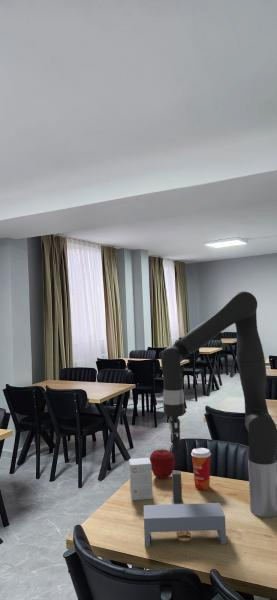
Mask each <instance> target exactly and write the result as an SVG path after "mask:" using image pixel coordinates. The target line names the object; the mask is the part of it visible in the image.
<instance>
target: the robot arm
mask: <svg viewBox="0 0 277 600" xmlns="http://www.w3.org/2000/svg"><path fill="white" fill-rule="evenodd" d="M257 309H258V300H257V298H256V297H255V295H254V294H252V292H248V291H246V290H245V291H238V292H236V293H234V295H233V296H232V297H231V298H230V300H229V301H228V302H227V303H226V304H225V305H224V306H223V307H222V308H220V310H218V311H217V312H216V313H215V314H213V315H211V317H209V318H208V319H206V320H203V322H202V323H200V324H198V325H197V326H195V327H194V328H192V329H191V330H190V331H188V332H187V333H185V334H184V336H182V337H181V338H180V339H179V340H178V341H176V342H175V343H173V344H172V345H170V346H168V347H166V348H165V349H164V350H163V351H162V352H161V357H160V359H161V360H160V361H161V370H162V375H163V396H162V398H163V399H162V401H163V415H164V416H165V417H169V419H168V426H169V427H168V428H169V432H170V443H171V444H172V451H174V452H179V451H180V441H181V420H180V418H179V417H183V416H184V415H185V394H184V380H183V378H184V377H183V375H182V372H181V369H182V368H181V362H183V361H184V360H186V358H188V357H189V356H190V355H191V354H192V353H195V352H196V351H198V350H200V349H201V348H202V347H204V346H205V345H206V344H208V343H209V342H211V341H212V340H213V339H214V338H216V337H217V336H218V335H219V334H221V332H223V331H224V330H226V329H228V328H229V327H230V326H232V325H234V324H235V330H236V359H237V366H238V368H237V369H238V374H239V380H240V384H241V389H242V393H243V399H244V425H245V428H246V430H247V432H248V435H247V436H248V450H247V463H248V483H249V506H250V507H249V508H250V509H249V510H250V512H251V513H252V514H254V515H255V516H257V517H259V518H260V517H261V518H274V517H277V425H276V422H275V421H274V420H273V419H272V417H271V415H270V413H269V409H268V404H267V399H266V385H267V367H266V359H265V358H266V357H265V354H264V349H263V344H262V342H261V338H260V334H259V330H258V321H257Z"/></svg>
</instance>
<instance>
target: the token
mask: <svg viewBox="0 0 277 600" xmlns="http://www.w3.org/2000/svg"><path fill="white" fill-rule="evenodd" d="M176 540H177V541H179V542H183V543H186V542H189V541H191V540H192V532H191V531H176Z"/></svg>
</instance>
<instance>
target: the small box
mask: <svg viewBox="0 0 277 600" xmlns="http://www.w3.org/2000/svg"><path fill="white" fill-rule="evenodd" d="M128 463H129V464H128V465H129V466H128V467H129V493H130V498H131V501H139V500H140V501H141V500H152V499H154V495H153V494H154V493H153V472H152V465H151V462H150V457H142V458H141V457H140V458H129V459H128Z"/></svg>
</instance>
